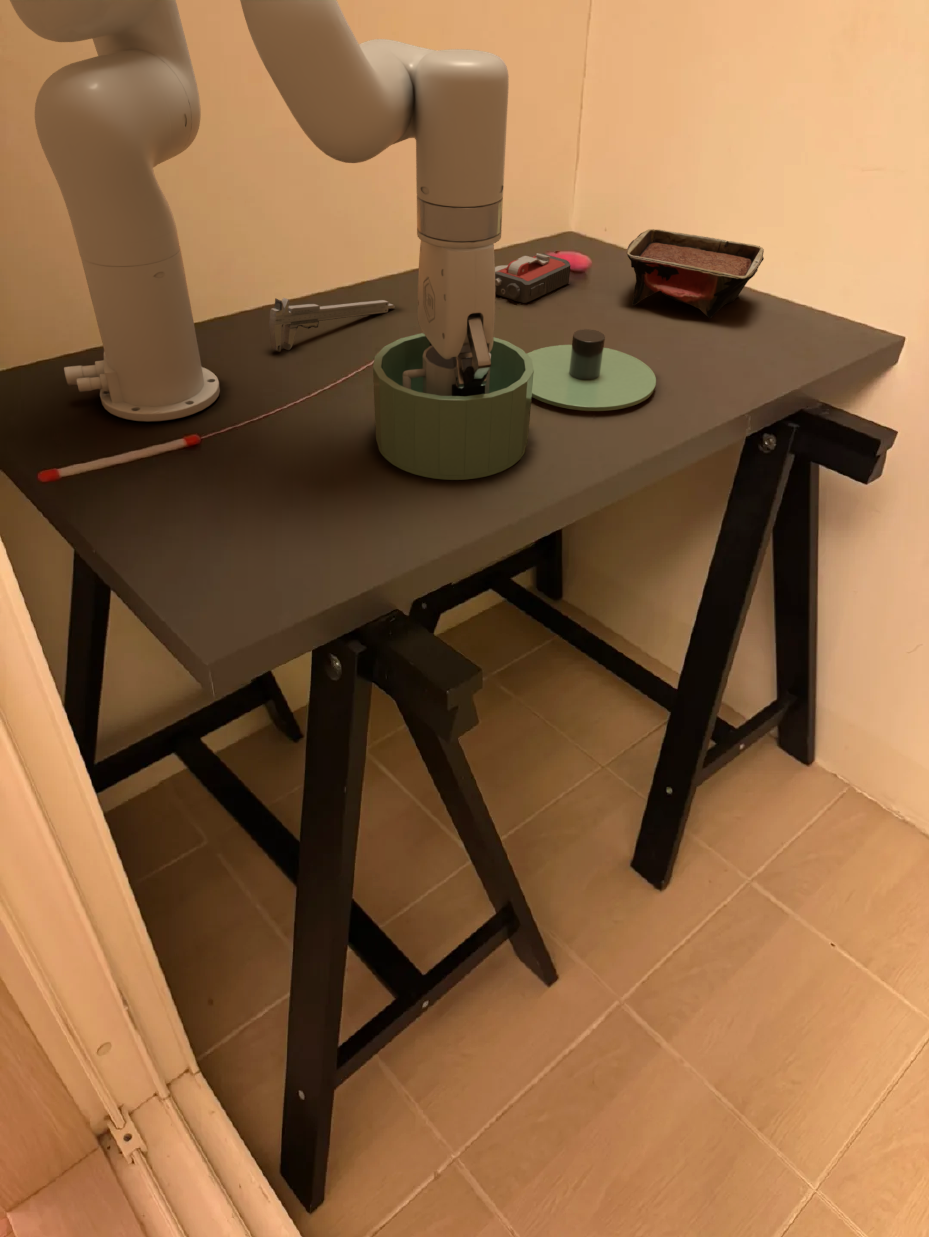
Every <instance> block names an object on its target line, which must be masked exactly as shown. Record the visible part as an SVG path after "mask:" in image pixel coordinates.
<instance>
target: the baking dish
mask: <svg viewBox="0 0 929 1237" xmlns="http://www.w3.org/2000/svg"><path fill="white" fill-rule="evenodd" d="M764 251H765V249H764V248H763V247H762V246H760V245H756V244H752V243H745V242H739V241H734V240H725V239H721V238H716V237H715V238H714V237H709V236H703V235H697V234H689V233H683V232H675V231H669V230H665V229H654V228H649V229H647V230H645V231H643V232H640V234H638V236H636V238H634V239H633V240H632V241H631V242H630V243H629V244H628V246H627V249H626V255H627V257H628V259H629V260H630V267H631V268H632V269H633V270H634V273H635V285H634V291H633V296H632V306H633V307H634V306H636V305H637V304H638V303H640V302H641V301H643V300H644V299H646V298H648V297H650V296H652V295H654V294H655V293H658V292H661V294H662V295H664V296H666V297H667V298H669V299H671V300H673V301H675V302H678V303H683V304H687V305H690V306H693V307H695V308H696V309H699V310H700V311H701V312H702V313H703V314H704V315H706V317H707V318H708V319H711V318H713V317H714V315H716V314H717V313H718V312H719V311H721V309H722V308H723V307H724V306H725V305H726V304H727V305H728V304H730V303H733V302H734V301H735V300H736V299H738V297H739V295H740V294H741V292H742V291H743V289H744V288H745V286H746V285H747V283H748V282H749V281H750V280H751V279H752V278H753V277H755V275H756V273H757V272H758V269H759V267H760V266H761V264H762V263H763V261H764V260H765V259H764Z"/></svg>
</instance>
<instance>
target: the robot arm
mask: <svg viewBox="0 0 929 1237" xmlns="http://www.w3.org/2000/svg"><path fill="white" fill-rule="evenodd" d="M9 1H10V4H11V6H12V8H13V9H14V12H15V13H16V15H17V17H18V18H19V20H21V22H22V23H23V24H24V25H25V27H26V28H28V30H30V31H31V32H33V34H35V35H37V36H38V37H40V38H42V39H44V40H47V41H52V42H55V43H76V42H82V41H87V40H92V41H93V44H94V48H95V52H96V53H97V55H96V56H93V57H90V58H86V59H81V60H79V61H75V62H72V63H71V62H70V63H69V64H66V65H64V66H62V67H61V68H59V69H58V70H56V71H54V72H53V73H52V74H51V75H49V77H47V79H46V80H45V81H44V82H43V84H42V86H41V87H40V89H39V91H38V93H37V96H36V100H35V102H34V103H35V104H34V124H35V129H36V133H37V137H38V140H39V144H40V146H41V149H42V151H43V153H44V155H45V158H46V161H47V163H48V165H49V166H50V169H51V172H52V174H53V175H54V177H55V181H56V183H57V185H58V188H59V190H60V192H61V195H62V198H63V201H64V203H65V207H66V210H67V212H68V216H69V219H70V220H69V221H70V223H71V227H72V230H73V234H74V238H75V242H76V246H77V250H78V254H79V257H80V260H81V263H82V264H81V265H82V268H83V271H84V275H85V276H84V277H85V280H86V284H87V288H88V291H89V295H90V299H91V300H90V301H91V303H92V307H93V311H94V315H95V321H96V323H97V328H98V332H99V335H100V339H101V343H102V348H103V360H96V361H94V364H92V365H72V366H64V367H63V371H64V372H63V373H64V376H65V380H66V384H67V385H68V387H69V386H77V389H78V392H79V393H83V392H92V391H96V390H99V397H100V401H101V405H102V406H103V408H104V410H106V411H107V412H108V413H109V414H111V415H113V416H115V417H118V418H120V419H124V420H128V421H133V422H134V421H136V422H148V423H149V422H166V421H172V420H177V419H181V418H185V417H189V416H191V415H194V414H197V413H199V412H202V411H203V410H205V409H206V408H208V407H210V406H211V405H212V404H213V403H215V401H216V400H217V399H218V397H219V396H220V393H221V387H220V381H219V378H218V376H217V375H215V373H214V372H212V371H211V370H210V369H208V368H205V367H203V366H202V362H201V360H202V359H201V355H200V350H199V344H198V338H197V333H196V327H195V322H194V316H193V310H192V305H191V304H192V303H191V299H190V294H189V288H188V282H187V277H186V272H185V266H184V261H183V260H184V259H183V255H182V254H183V253H182V250H181V245H180V239H179V234H178V229H177V225H176V221H175V218H174V215H173V211H172V209H171V206H170V204H169V201H168V200H167V198H166V195H165V194H164V192H163V190H162V188H161V186H160V184H159V183H158V180H157V178H156V175H155V172H154V168H155V167H156V166H158V165H160V164H163V163H164V162H166V161H168V160H170V159H173V158H174V157H176V156H179V155H180V154H182V153H184V152H185V151H186V150H187V149H188V148H189V147H190V146H191V145H192V144H193V142H194V141H195V139H196V137H197V135H198V133H199V129H200V126H201V116H202V115H201V114H202V112H201V110H202V109H201V99H200V93H199V88H198V83H197V78H196V76H195V71H194V67H193V64H192V59H191V55H190V51H189V46H188V44H187V40H186V36H185V31H184V27H183V23H182V18H181V16H180V12H179V7H178V4H177V0H9ZM239 1H240V5H241V6H240V7H241V10H242V13H243V17H244V20H245V23H246V26H247V29H248V31H249V34H250V37H251V40H252V41H253V45H254V47H255V49H256V51H257V53H258V56H259V58H260V60H261V62H262V64H263V66H264V68H265V69H266V71H267V73H268V75H269V77H270V78H271V80H272V82H273V83H274V86H275V87H276V89H277V90H278V92H279V95H280V96H281V98H282V99H283V101H284V103H285V104H286V106H287V108H288V109H289V111H290V113H291V115H292V116H293V118H294V119H295V121H296V122H297V124H298V126H299V127H300V129H301V130H302V131H303V133H304V134H305V135H306V137H307V138H308V139H309V140H310V141H311V142H312V143H313V145H314V146H315V147H316V148H317V149H319V150H320V151H321V152H322V153H323V154H324V155H326V156H328V157H330V158H331V159H332V160H335V161H337V162H342V163H345V164H359V163H364V162H367V161H369V160H371V159H373V158H375V157H377V156H378V155H380V154H382V153H383V152H384V151H385V150H386V149H388V148H389V147H391V146H392V145H393V146H394V145H395V144H398V143H400V142H403V141H406V140H409V139H414V140H415V165H416V166H415V175H416V177H415V179H416V180H415V182H416V187H415V188H416V236H417V238H418V239H419V240H420V243H419V257H418V273H417V274H418V277H417V278H418V279H417V305H416V306H417V307H416V310H417V311H416V312H417V314H416V315H417V317H416V318H417V323H418V327H419V328H420V330H421V332H422V333H424V334H425V336H426V337H427V339H428V340H429V347H430V346H432V345H433V347H434V348H435V349H436V351H437V352H438V353H439V354H440V355H441V356H442V357H443V358H444V359H451V357H453V364H454V373H455V382H456V384H452V396H472V395H480V394H485V385H486V383H487V379H486V377H487V374H488V370H489V369H490V367H491V360H490V356H489V353H490V352H491V350H492V347H493V340H494V337H495V326H496V294H495V267H496V263H495V262H496V261H495V260H496V259H495V244H497V242H499V241H500V240H501V239H502V231H503V230H502V226H503V207H504V206H503V205H504V188H505V186H504V185H505V169H506V168H505V167H506V166H505V165H506V147H507V146H506V145H507V125H508V108H509V106H508V105H509V86H510V85H509V82H510V80H509V78H510V76H509V70H508V67H507V64H506V62H505V60H504V59H503V58H501V57H500V56H499V55H497V54H495V53H492V52H489V51H483V50H479V49H468V48H467V49H464V48H461V49H460V48H449V49H440V50H436V49H432V48H427V47H421V46H417V45H414V44H410V43H406V42H402V41H399V40H394V39H387V38H375V39H370V40H367V41H364V42H361V43H359V42H358V39H357V38H356V36H355V34H354V32H353V30H352V29H351V26H350V25H349V22H348V21H347V19H346V17H345V15H344V13H343V10H342V8H341V6H340V4H339V2H338V0H239ZM468 345H470V349H471V352H463V353H460V351H461V349H462V346H468ZM470 358H472V363H471V366H468V367H467V368H466V369H465V371H464V373H463V365H462V359H470Z"/></svg>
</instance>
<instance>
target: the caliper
mask: <svg viewBox="0 0 929 1237" xmlns="http://www.w3.org/2000/svg"><path fill="white" fill-rule="evenodd" d="M395 308H396V305H394V304H392V303H390V301H387V300H385V299H379V300H370V301H359V302H358V301H357V302H350V303H342V304H330V305H322V306H321V305H318V304H316V303H307V304H296V305H290V299H289V298H286V297H282V299H281V300H280V299H278V298H274V307H273V308H270V310H269V311H270V312H269V321H268V329H269V330H268V331H269V338H270V346H271V348H272V350H275V351H277V352H281V348H282V347H283V349H284V350H286V351H291V349H292V347H293V345H294V341H295V337H296V335H297V331H298V327H302V328H306V329H311V328H315V329H317V328H319V325H320V324H319V323H320V322H321V321H330V320H337V319H338V320H339V319H346V318H354V317H361V316H363V317H364V316H372V315H380V314H388V313H389V310H390V309H395ZM283 327H284V328H283ZM282 336H283V338H282ZM282 339H283V340H282ZM282 341H283V344H282ZM281 344H282V346H281Z"/></svg>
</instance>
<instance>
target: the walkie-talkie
mask: <svg viewBox="0 0 929 1237" xmlns="http://www.w3.org/2000/svg"><path fill="white" fill-rule="evenodd" d="M535 254H536V255H532V256H528V255H523V256H521V257H519V258H517V259H513V260H511V261H510V262H509V263H508V264H505V265H504V264H503V265H496V266H495V296H498V297H499V296H500V297H502V298H506V299H509V300H511V301H515V302H518V303H521V304H527V303H529V302H532V301H533V300H536V299H538V298H540V297H542V296H544V295H546V294H549V293H551V292H553V291H555V290H557V289H559V288H562V287H563V286H566V285H567V284H569V283H570V275H571V274H570V273H571V263H570V262H569V260H567V259H564V258H560V257H557V256H553V255H550V254H547V253H537V252H536V253H535Z"/></svg>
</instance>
